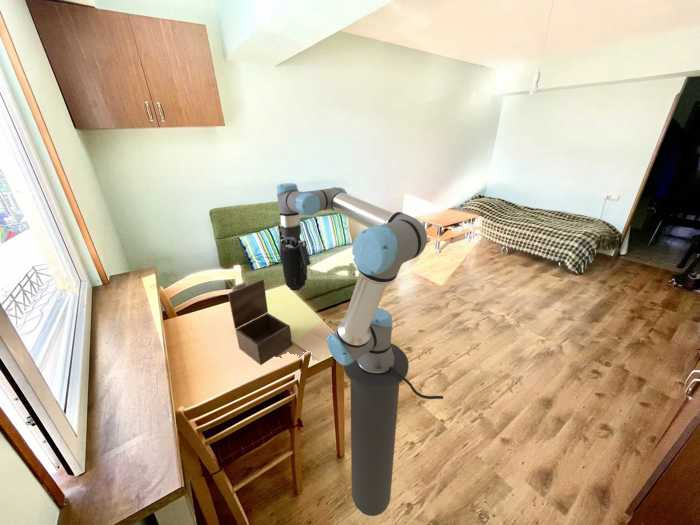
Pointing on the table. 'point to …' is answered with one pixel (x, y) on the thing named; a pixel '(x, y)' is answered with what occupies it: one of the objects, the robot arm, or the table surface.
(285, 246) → the portable speaker
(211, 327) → the table surface
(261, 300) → the lid
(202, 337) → the table surface
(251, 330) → the chest
